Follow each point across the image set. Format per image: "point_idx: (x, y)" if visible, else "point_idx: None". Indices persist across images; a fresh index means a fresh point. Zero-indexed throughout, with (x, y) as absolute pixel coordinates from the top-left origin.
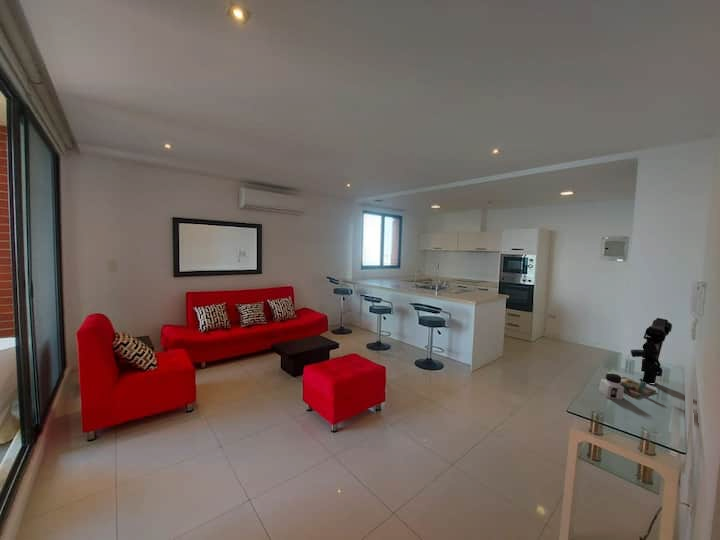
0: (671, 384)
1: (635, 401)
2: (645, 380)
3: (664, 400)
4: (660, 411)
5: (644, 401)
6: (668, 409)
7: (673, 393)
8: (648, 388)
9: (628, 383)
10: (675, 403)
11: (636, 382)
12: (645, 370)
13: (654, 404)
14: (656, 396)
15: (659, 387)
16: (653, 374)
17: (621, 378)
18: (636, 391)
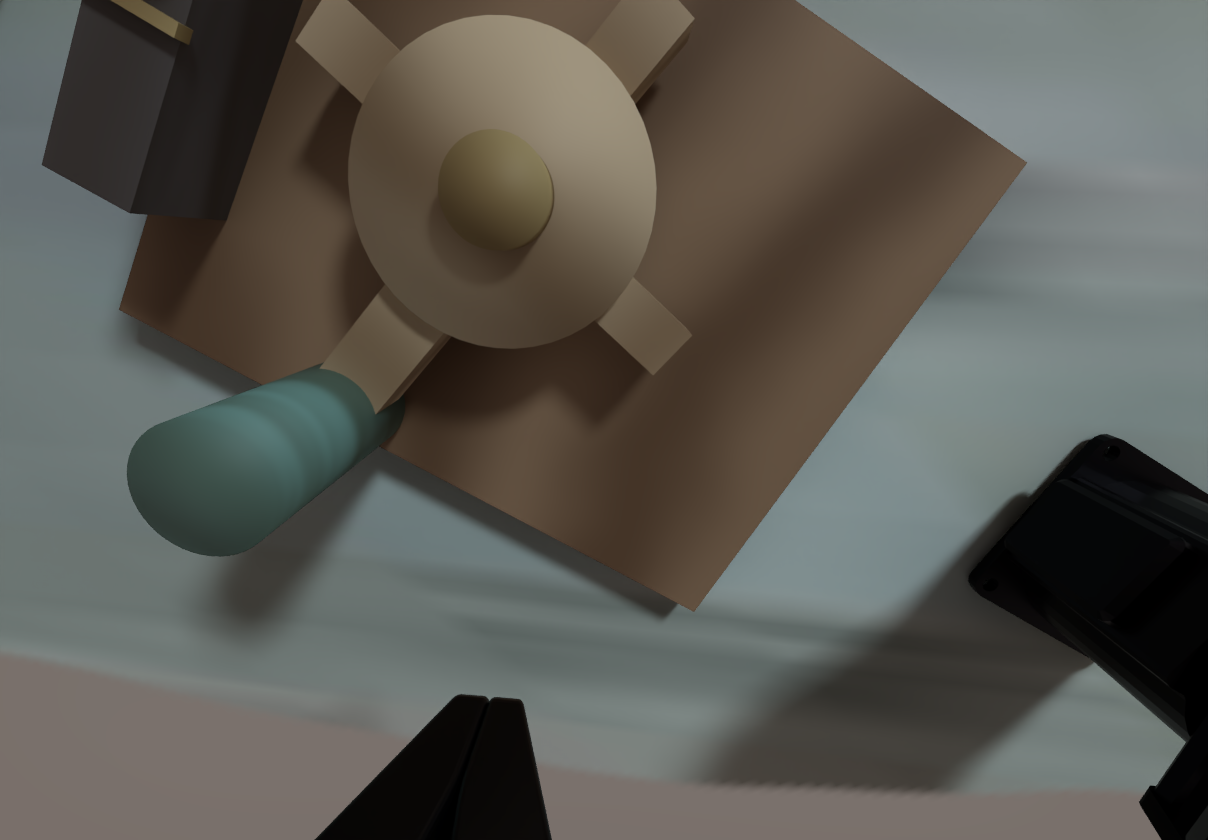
0: None
1: (20, 301)
2: (1048, 518)
3: (464, 650)
4: (22, 567)
5: (161, 421)
6: (193, 653)
7: (828, 770)
8: (685, 523)
9: (381, 189)
10: None
11: (656, 360)
12: (349, 809)
13: None
14: (524, 582)
15: (941, 655)
16: (1203, 731)
17: (655, 46)
18: None
